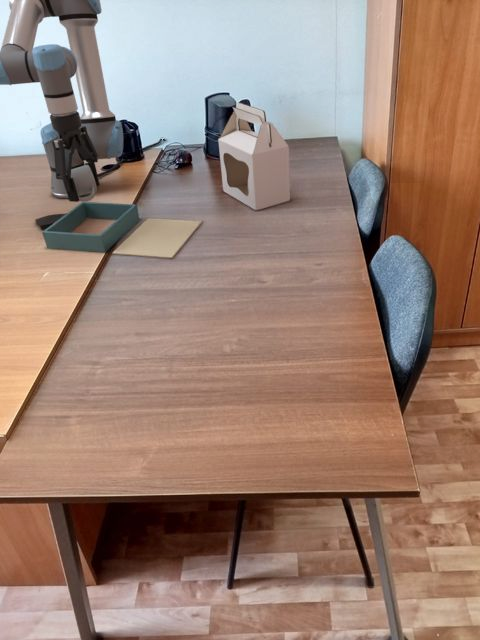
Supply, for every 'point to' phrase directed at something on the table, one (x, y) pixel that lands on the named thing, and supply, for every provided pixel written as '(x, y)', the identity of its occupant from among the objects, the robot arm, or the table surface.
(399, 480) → the table surface
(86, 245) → the teal rectangular frame
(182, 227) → the mat
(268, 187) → the gable box
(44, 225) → the dark sector wedge
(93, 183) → the ceramic mug
